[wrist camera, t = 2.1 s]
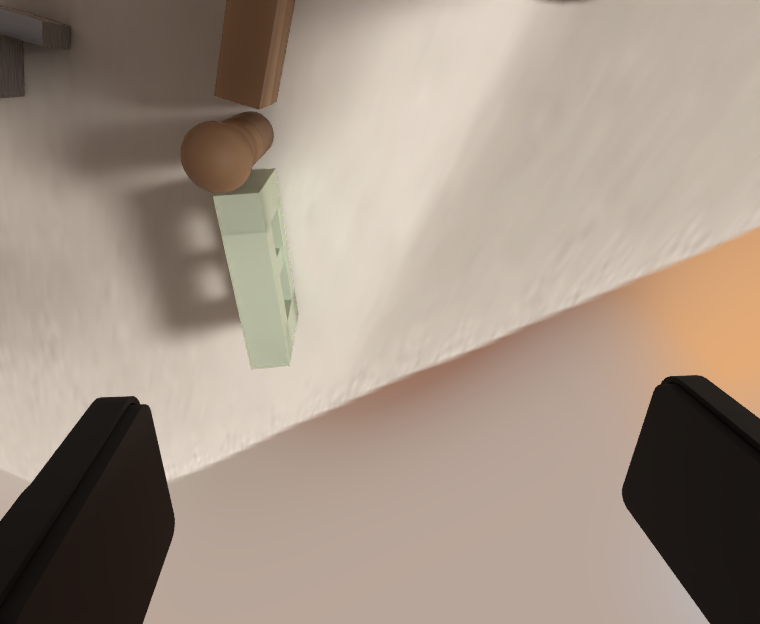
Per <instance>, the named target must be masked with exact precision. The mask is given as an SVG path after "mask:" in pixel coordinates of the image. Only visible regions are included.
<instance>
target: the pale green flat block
mask: <svg viewBox="0 0 760 624" xmlns="http://www.w3.org/2000/svg"><path fill="white" fill-rule="evenodd" d="M213 200H214V204H215V209H216V213H217V218H218V222H219V227H220V231H221V236H222V240H223V245H224V249H225V254H226V258H227V263H228V267H229V272H230V276H231V281H232V285H233V290H234V294H235V299H236V304H237V308H238V313H239V317H240V322H241V326H242V331H243V335H244V340H245V344H246V349H247V353H248V358H249V362H250V367H251V369H260V368H271V367H282V366H290V361H291V355H292V349H293V343H294V337H295V331H296V325H297V319H298V309H297V303H296V296H295V290H294V283H293V277H292V271H291V264H290V258H289V251H288V245H287V239H286V232H285V226H284V219H283V213H282V207H281V200H280V194H279V187H278V181H277V175H276V169H262V170H251V173H250V175H249V177H248V179H247V180H246V182H245V183H244V184H243V185H242V186H240V187H239V188H237V189H236V190H234V191H231V192H227V193H216V194H215V195H214V196H213Z"/></svg>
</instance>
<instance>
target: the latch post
mask: <svg viewBox="0 0 760 624" xmlns="http://www.w3.org/2000/svg"><path fill="white" fill-rule="evenodd" d="M23 41H25V42H29V43H32V44H35V45H39V46H42V47H51V48H62V49H70V26H67V25H64V24H61V23H58V22H55V21H51V20H48V19H45V18H42V17H39V16H36V15H32V14H29V13H26V12H23V11H20V10H16V9H12V8H7V7H2V6H0V98H8V97H22V96H24V63H23Z"/></svg>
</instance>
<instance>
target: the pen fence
mask: <svg viewBox="0 0 760 624" xmlns="http://www.w3.org/2000/svg"><path fill="white" fill-rule="evenodd" d="M294 3H295V0H227V4H226V11H225V19H224V27H223V34H222V42H221V49H220V57H219V65H218V72H217V80H216V88H215V95H214V96H217V97H220V98H223V99H227V100H230V101H233V102H237V103H240V104H243V105H246V106H250V107H253V108H256V109H261V108H263V107H266V106H268V105H270V104H273V103H275V102H276V101H277V96H278V90H279V85H280V79H281V74H282V68H283V63H284V58H285V52H286V47H287V41H288V36H289V30H290V25H291V20H292V14H293V9H294ZM273 138H274V133H273V128H272V126H271V124H270V122H269V121H268V120H267V119H266V118H265V117H264V116H263V115H261V114H259V113H257V112H245V113H242V114H239V115H237V116H234V117H232V118H229V119H227V120H224V121H222V122H216V121H211V122H204V123H201V124H199V125H197V126H195V127H194V128H192V129H191V130H190V131H189V132H188V133H187V134H186V136H185V138H184V140H183V142H182V145H181V153H180V155H181V162H182V165H183V168H184V170H185V172H186V174H187V175H188V177H189V178H190V179H191V180H192V181H193V182H194V183H195V184H196V185H197V186H199V187H201V188H202V189H204V190H206V191H210V192H214V193H227V192H231V191H234V190H236V189H237V188H239V187H240V186H242V185H243V184H244V183H245V182H246V180H247V179H248V177H249V175H250V173H251V170H252V166H253V165H254V164H255V163H256V162H257V161H258V160H259V159H260V158H261V157H262V156H263V155H264V153H265V152H266V151H267V150H268V149H269V148H270V147H271V145H272V143H273Z"/></svg>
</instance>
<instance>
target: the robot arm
mask: <svg viewBox="0 0 760 624" xmlns="http://www.w3.org/2000/svg"><path fill="white" fill-rule="evenodd" d="M622 496H623V501H624V503H625V505H626V507H627V509H628V510H629V512H630V513H631V514H632V516H633V517H634V519H635V520H636V521H637V523H638V524H639V525H640V527H641V528H642V530H643V531H644V532H645V534H646V535H647V537H648V538H649V539H650V541H651V542H652V544H653V545H654V546H655V548H656V549H657V550H658V552H659V553H660V555H661V556H662V557H663V559H664V560H665V562H666V563H667V564H668V566H669V567H670V569H671V570H672V571H673V573H674V574H675V575H676V577H677V578H678V580H679V581H680V582H681V584H682V585H683V587H684V588H685V589H686V591H687V592H688V593H689V595H690V596H691V598H692V599H693V600H694V602H695V603H696V605H697V606H698V607H699V609H700V610H701V612H702V613H703V614H704V616H705V617H706V619H707V620H708V621H709V623H710V624H760V419H759V418H758V417H757V416H755V415H754V414H753V413H751V412H750V411H749V410H748V409H746V408H745V407H743V406H742V405H741V404H739V403H738V402H737V401H736V400H734V399H733V398H732V397H730V396H729V395H728V394H726V393H725V392H724V391H722V390H721V389H720V388H718V387H717V386H715V385H714V384H713V383H712V382H710V381H709V380H708V379H706V378H704V377H702V376H697V375H691V376H670V377H667V378H665V379H664V380H663V381H662V383H661V385H658V386H657V387H656V388H655V390H654V392H653V395H652V398H651V401H650V404H649V407H648V410H647V414H646V417H645V420H644V423H643V426H642V429H641V432H640V435H639V438H638V441H637V445H636V447H635V451H634V453H633V457H632V460H631V463H630V466H629V469H628V472H627V475H626V478H625V482H624V484H623V488H622ZM174 525H175V518H174V512H173V508H172V503H171V499H170V494H169V490H168V485H167V481H166V476H165V472H164V467H163V463H162V459H161V454H160V450H159V445H158V441H157V436H156V432H155V427H154V423H153V418H152V414H151V410H150V408H149V406H148V405H146V404H140V403H139V400H138V399H137V398H136V397H134V396H127V397H101V398H97V399H96V400H95V401H94V402H93V403H92V404H91V405H90V407H89V408H88V409H87V411H86V412H85V413H84V415H83V416H82V417H81V418H80V420H79V421H78V422H77V424H76V425H75V426H74V428H73V429H72V430H71V432H70V433H69V434H68V436H67V437H66V438H65V440H64V441H63V442H62V444H61V445H60V446H59V447H58V449H57V450H56V451H55V453H54V454H53V455H52V457H51V458H50V459H49V461H48V462H47V463H46V465H45V466H44V467H43V469H42V470H41V471H40V473H39V474H38V475H37V476H36V478H35V479H34V480H33V482H32V483H31V484H30V485H29V486H28V487H27V488H26V489H25V490H24V491H23V492H22V493H21V495H20V496H19V497H18V499H17V500H16V501H15V503H14V504H13V505H12V507H11V508H10V509H9V511H8V512H7V513H6V514H5V516H4V517H3V518H2V520H1V521H0V624H143V621H144V618H145V615H146V612H147V609H148V606H149V604H150V601H151V598H152V595H153V592H154V589H155V587H156V584H157V581H158V578H159V575H160V572H161V569H162V566H163V564H164V561H165V558H166V555H167V552H168V549H169V546H170V544H171V541H172V537H173V533H174Z"/></svg>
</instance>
